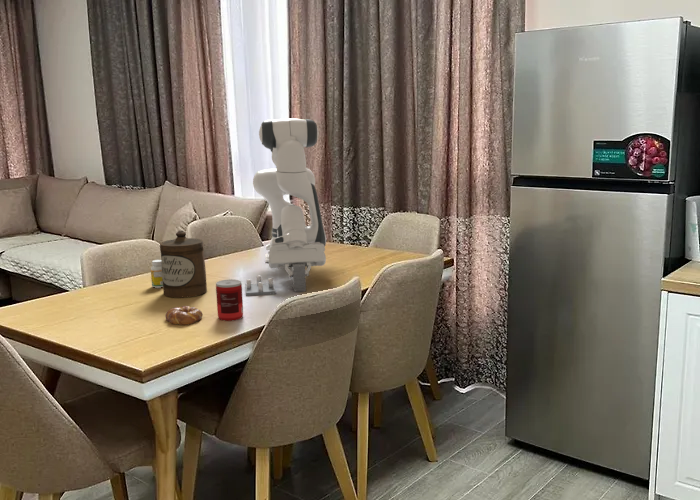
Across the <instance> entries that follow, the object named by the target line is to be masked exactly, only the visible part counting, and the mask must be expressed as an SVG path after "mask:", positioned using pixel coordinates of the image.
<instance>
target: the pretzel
mask: <svg viewBox="0 0 700 500" xmlns="http://www.w3.org/2000/svg"><path fill="white" fill-rule="evenodd" d="M202 317H203V312H202V311H201V309H198V308H197V307H194V306H190V305H182V306H179V307H178V306H175V307H171V308H169V309H168V310H167V311H166V313H165V320H166V321H167V322H169V323H170V324H172V325H176V324H179V325H181V326H187V325H188V324H189V325H193V324H194V323H196V322H199V321H201V319H202Z"/></svg>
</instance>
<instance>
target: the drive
mask: <svg viewBox="0 0 700 500" xmlns="http://www.w3.org/2000/svg"><path fill="white" fill-rule="evenodd" d="M305 270H306V267H305V265H304V263H292V267H291V271H293V277H291V279H292V282H291V283H292V289H293V291H294V293H301V292H306V291H307V289H306V288H307V285H306V284H307V283H306V282H307V281H306V276H305Z"/></svg>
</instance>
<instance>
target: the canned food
mask: <svg viewBox="0 0 700 500" xmlns="http://www.w3.org/2000/svg"><path fill="white" fill-rule="evenodd" d="M215 295H216V308H217V318H218V319H219V320H220V321H223V320H225V321H224V322H231V321H232V320H234V321H239V320H240V319H242V318H243V316H244V305H243V301H244V300H243V285H242V280H239V279H232V278H231V279H230V278H229V279H223V280H218V281H216V282H215Z"/></svg>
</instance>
